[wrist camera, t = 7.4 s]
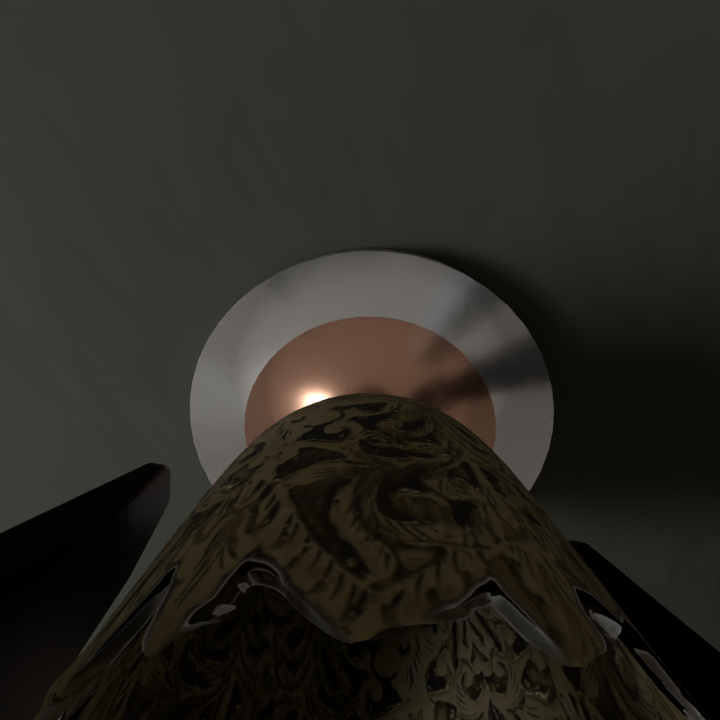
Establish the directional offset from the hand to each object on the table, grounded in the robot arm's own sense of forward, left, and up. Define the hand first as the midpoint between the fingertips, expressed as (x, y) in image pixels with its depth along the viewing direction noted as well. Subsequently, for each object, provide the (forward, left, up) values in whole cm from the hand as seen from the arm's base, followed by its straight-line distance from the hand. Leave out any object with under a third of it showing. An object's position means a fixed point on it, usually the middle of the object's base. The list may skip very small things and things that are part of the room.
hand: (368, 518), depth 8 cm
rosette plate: (0, 0, -4) cm, 4 cm away
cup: (0, 0, -3) cm, 3 cm away
